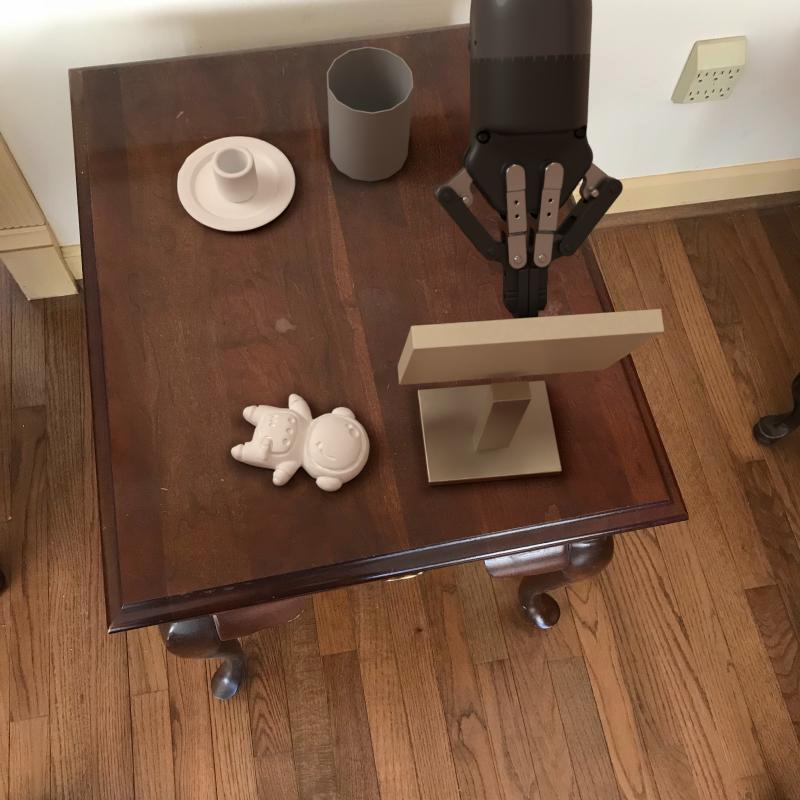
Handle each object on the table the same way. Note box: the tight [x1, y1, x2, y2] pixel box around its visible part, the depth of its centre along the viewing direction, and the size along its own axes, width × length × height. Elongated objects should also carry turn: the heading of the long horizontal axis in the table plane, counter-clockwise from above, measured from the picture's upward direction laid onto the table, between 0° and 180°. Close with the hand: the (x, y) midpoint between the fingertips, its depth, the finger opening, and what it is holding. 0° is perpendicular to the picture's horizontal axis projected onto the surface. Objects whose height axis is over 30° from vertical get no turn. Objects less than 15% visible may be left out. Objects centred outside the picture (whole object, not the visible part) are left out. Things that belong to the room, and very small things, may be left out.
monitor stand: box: [416, 380, 563, 487], centre depth 71 cm, size 9×12×12 cm
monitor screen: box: [397, 308, 665, 386], centre depth 62 cm, size 2×17×13 cm, turn 96°
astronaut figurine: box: [230, 393, 370, 492], centre depth 74 cm, size 9×12×3 cm
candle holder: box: [176, 135, 296, 232], centre depth 85 cm, size 12×12×4 cm
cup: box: [326, 46, 414, 183], centre depth 85 cm, size 8×8×10 cm
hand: (524, 317), depth 59 cm, fingers closed
